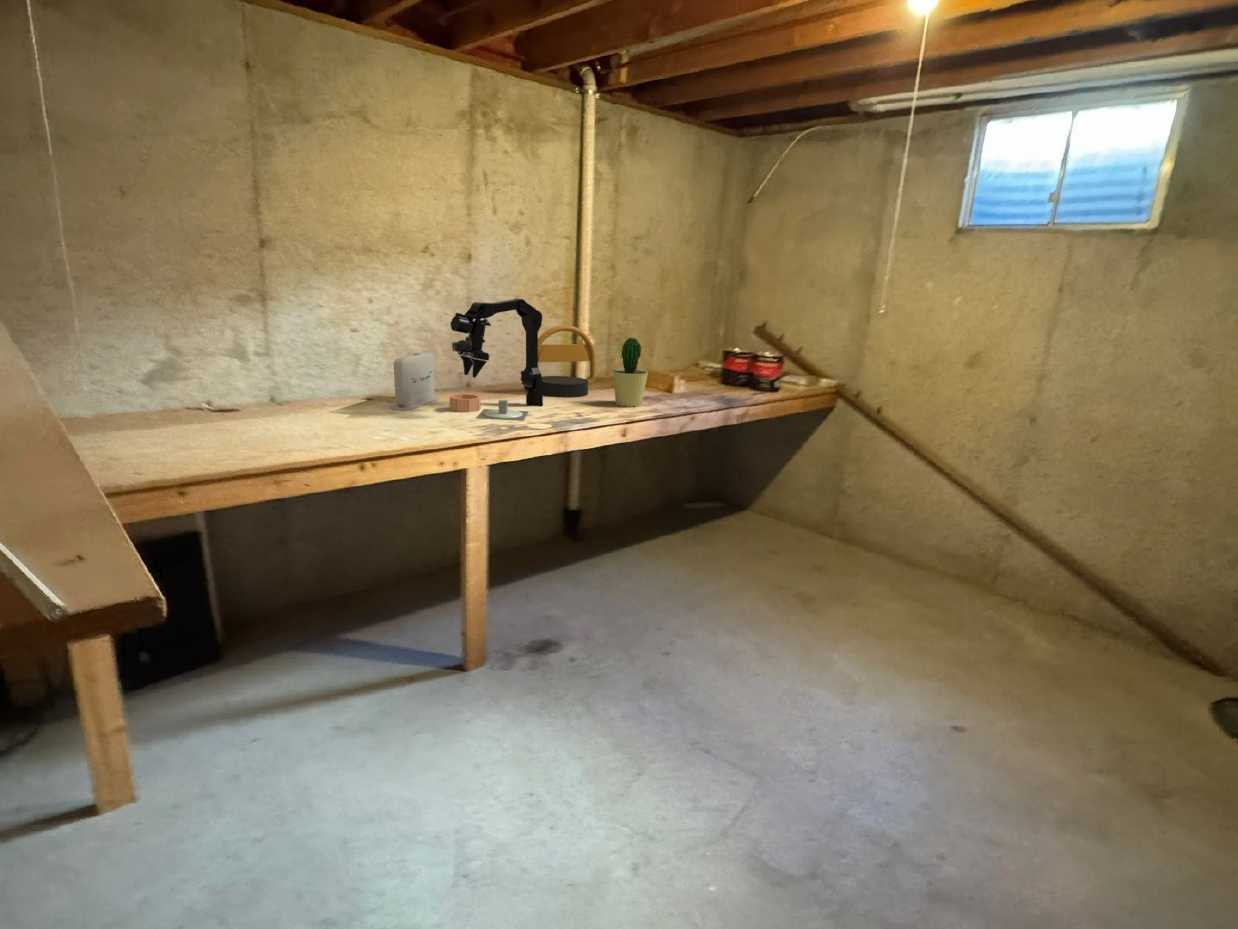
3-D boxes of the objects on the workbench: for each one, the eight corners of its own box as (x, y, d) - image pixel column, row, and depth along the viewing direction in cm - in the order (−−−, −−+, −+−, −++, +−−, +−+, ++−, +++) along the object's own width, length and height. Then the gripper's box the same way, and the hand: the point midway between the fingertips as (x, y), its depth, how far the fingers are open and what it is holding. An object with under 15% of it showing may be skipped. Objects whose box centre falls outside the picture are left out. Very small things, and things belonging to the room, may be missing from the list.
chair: (606, 395, 323) (610, 327, 315) (539, 399, 305) (541, 327, 297) (581, 387, 344) (584, 322, 335) (516, 389, 325) (517, 322, 317)
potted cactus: (627, 409, 294) (631, 338, 286) (604, 403, 305) (607, 334, 297) (653, 406, 304) (657, 337, 296) (629, 400, 315) (633, 334, 307)
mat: (528, 412, 276) (528, 411, 276) (523, 421, 259) (523, 420, 258) (483, 410, 275) (483, 408, 275) (475, 419, 258) (475, 418, 258)
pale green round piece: (524, 411, 274) (524, 398, 273) (520, 419, 260) (520, 405, 258) (487, 409, 274) (487, 396, 272) (480, 417, 259) (480, 403, 258)
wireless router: (408, 411, 266) (406, 359, 260) (384, 409, 267) (382, 357, 262) (444, 398, 295) (443, 351, 290) (422, 396, 297) (421, 349, 292)
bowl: (482, 408, 279) (482, 394, 277) (477, 413, 268) (477, 399, 266) (454, 406, 279) (454, 393, 277) (447, 412, 268) (447, 398, 266)
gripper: (448, 330, 265) (441, 370, 267) (464, 332, 249) (457, 375, 251) (475, 335, 271) (469, 375, 273) (492, 338, 255) (486, 380, 257)
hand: (469, 376), depth 263 cm, fingers open, 9 cm apart
